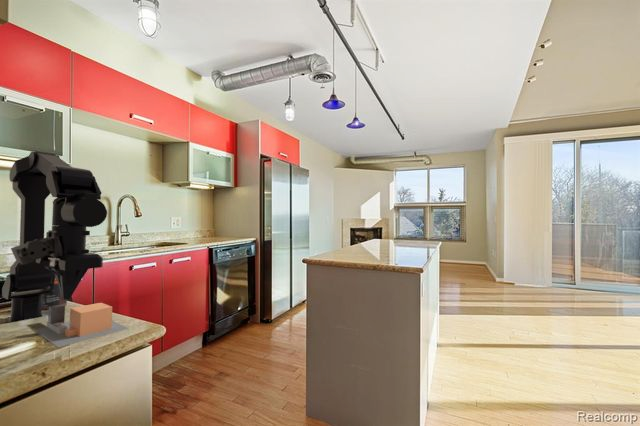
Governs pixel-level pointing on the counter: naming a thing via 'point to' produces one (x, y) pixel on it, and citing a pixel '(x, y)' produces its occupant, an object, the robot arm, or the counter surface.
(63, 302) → the supplement bottle
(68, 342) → the latch plate
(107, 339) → the counter surface
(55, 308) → the latch bolt
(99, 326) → the cover
